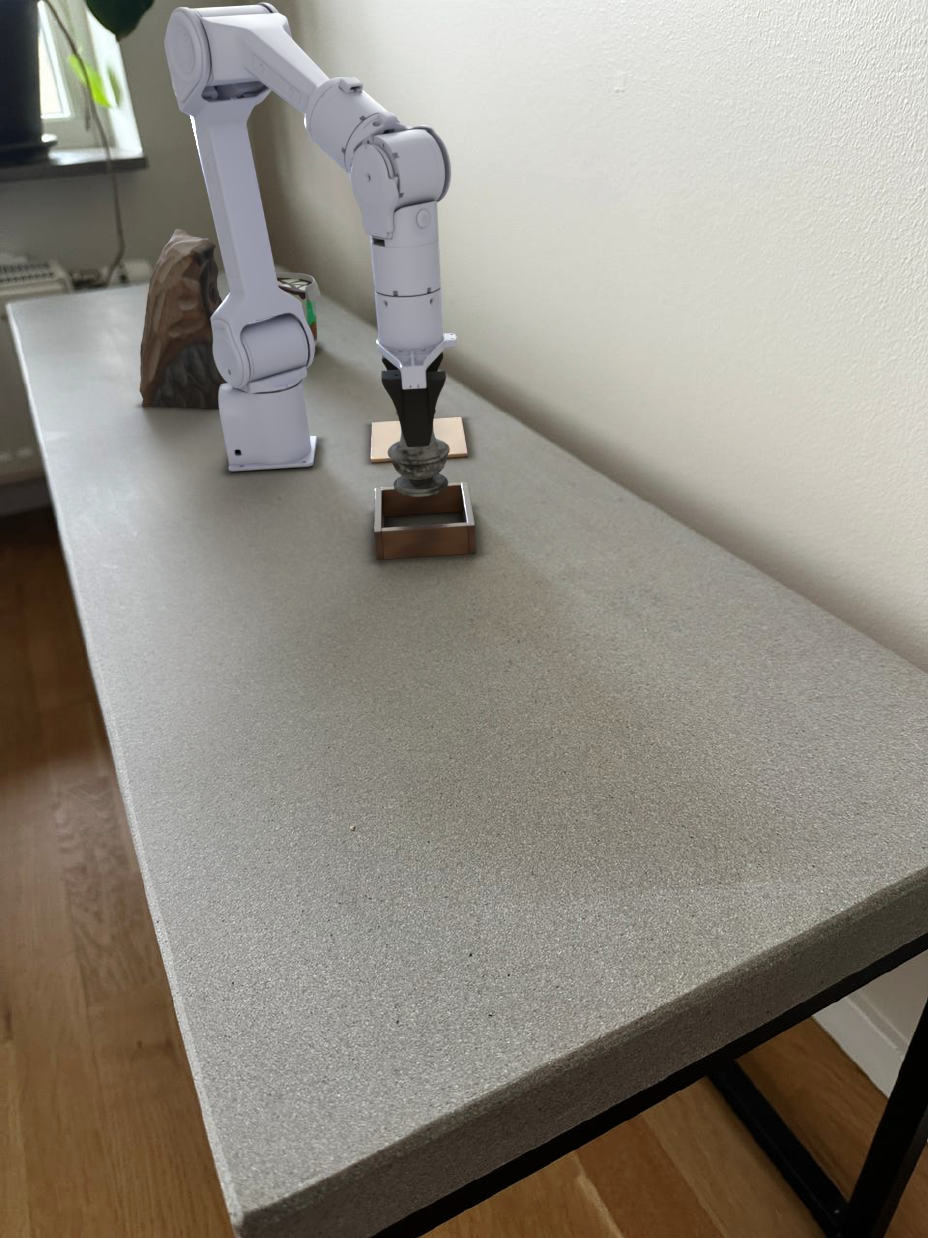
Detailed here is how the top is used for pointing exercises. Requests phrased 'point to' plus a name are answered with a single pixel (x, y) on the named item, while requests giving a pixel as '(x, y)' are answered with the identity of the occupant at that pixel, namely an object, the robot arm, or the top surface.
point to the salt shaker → (419, 467)
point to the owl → (181, 327)
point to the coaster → (443, 430)
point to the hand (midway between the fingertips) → (417, 436)
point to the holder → (424, 536)
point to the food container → (302, 295)
